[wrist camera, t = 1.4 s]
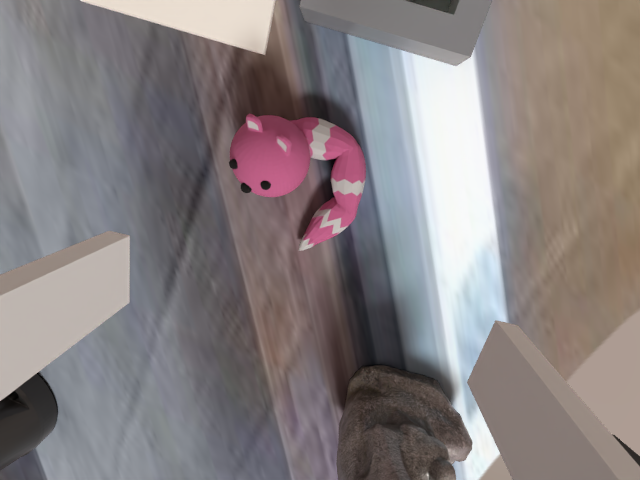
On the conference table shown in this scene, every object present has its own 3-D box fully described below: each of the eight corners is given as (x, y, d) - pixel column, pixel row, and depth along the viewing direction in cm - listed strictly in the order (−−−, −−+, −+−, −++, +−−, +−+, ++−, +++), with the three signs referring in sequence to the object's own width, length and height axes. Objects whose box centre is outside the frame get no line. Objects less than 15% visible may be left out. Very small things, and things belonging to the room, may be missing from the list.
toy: (221, 198, 30) (194, 140, 20) (277, 131, 32) (277, 50, 22) (321, 266, 29) (342, 240, 20) (370, 192, 32) (410, 137, 22)
